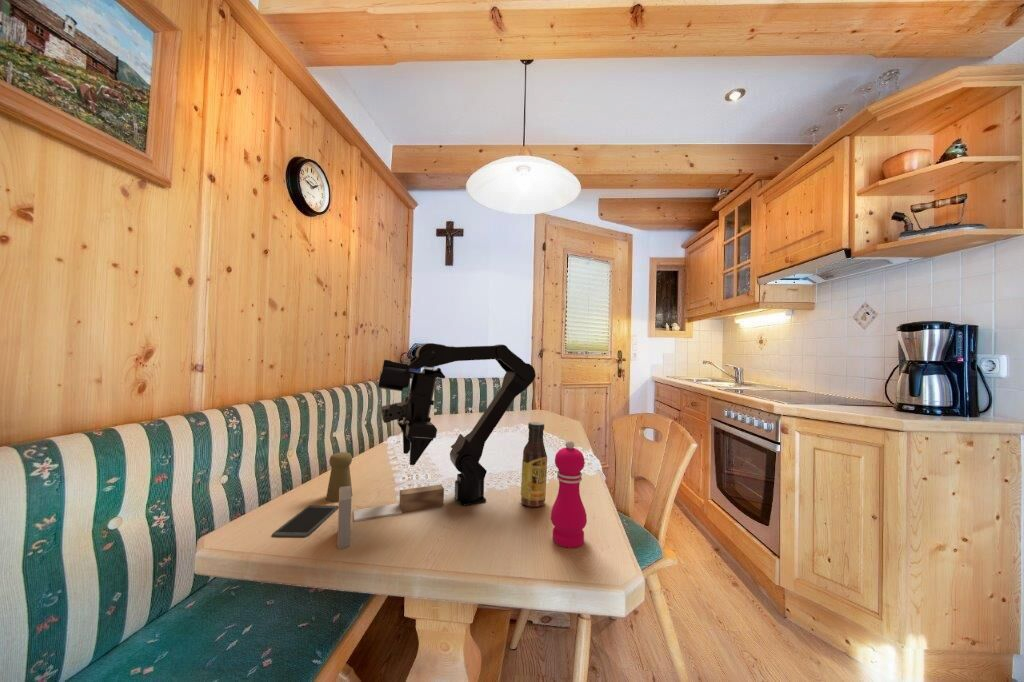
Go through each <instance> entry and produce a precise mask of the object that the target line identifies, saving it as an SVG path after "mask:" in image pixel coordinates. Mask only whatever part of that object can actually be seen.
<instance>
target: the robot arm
mask: <svg viewBox="0 0 1024 682" xmlns="http://www.w3.org/2000/svg"><path fill="white" fill-rule="evenodd" d="M486 360H489V361H490V360H495V361H496V362H497V363H498V364H499V367H501V369H503V371H504V372H505V374H504V376H503V379H502V383H501V387H500V389H499V390H498V392H497V393H496V394H495V396H494V397H493V399H492V400H491V402H490V403H489V405H488V406H487V408H486V410H485V411H483V414H482V415H481V416H480V418H479V419H478V420H477V422H476V424H475V425H474V427H473V428H472V430H471V431H470V432H469V433H467V434H466V435H465V436H463V434H461V433H460V434H459V435H458V436H457V438H456V440H455V442H454V443H453V444H451V446H450V448H451V450H450V452H449V460H450V461H451V463H452V464H453V466H454V467H455V469H456V470H457V471H458V472H459V473H457V475H456V476H457V477H456V480H455V481H454V498H455V500H456V501H458V503H459V505H461V506H468V505H474V504H475V505H476V504H480V503H486V502H487V499H486V497H485V496H484V495H485V494H484V493H485V478H486V475H487V472H488V471H487V469H486V468H485V467H484V466H483V465H482V464H481V463H480V460H481V458H482V455H483V452H484V449H485V444H486V442H487V440H488V439H489V438H490V436H491V434H492V432H493V431H494V429H495V428H496V427H497V425H498V424H499V423H500V421H501V419H502V418H503V416H504V415H505V413H506V412H507V410H508V409H509V407H511V404H512V403H513V401H514V400H515V399H516V398H517V396H518V395H520V394H522V393H523V392H524V391H526V390H527V389H528V388H529V386H530V385H531V384H533V382H534V381H535V379H536V376H537V374H536V370H535V368H534V366H533V365H532V364H530V363H526V362H525V361H524V360H523V359H522V358H521V357H520V356H518V355H517V354H515V353H514V352H513V351H511V349H509V348H508V346H507V345H505V344H494V345H477V346H476V345H474V346H473V345H471V346H468V345H467V346H453V345H446V344H440V343H434V342H433V343H431V342H430V343H429V342H428V343H422V344H421V345H419V347H418V348H417V350H415V355H414V356H413V357H412V358H411V359H409V360H408V361H407V362H406V363H403V362H399V361H398V362H397V361H392V360H390V359H384V360H383V361H382V362H383V363H382V367H381V371H380V372H379V376H378V377H379V378H378V382H377V389H384V390H389V391H397V392H403V391H404V389H406V388H409V387H410V388H409V392H408V395H406V396H405V398H404V401H401V402H395V403H391V404H385V405H382V406H380V413H381V419H382V422H383V423H384V424H387V423H390V422H392V421H393V422H394V421H397V425H398V426H399V427H400V429H401V430H402V449H403V450H402V452H403V454H405V455H407V454H409V466H416V463H417V462H418V460H419V459H420V458H421V456H422V455H423V453H424V452H425V450H426V449H427V448H428V446H429V445H430V444H431V443H432V442H433V441H434V439H437V434H438V429H437V427H436V425H434V424H433V422H431V420H432V418H431V417H430V413H431V409H432V406H434V404H435V400H433V398H434V393H435V387H436V382H437V379H445V378H446V375H444V373H443V372H442V369H441V368H440V367H439V366H442V365H443V366H444V365H447V364H451V363H453V362H454V363H455V362H464V361H465V362H467V361H486ZM424 367H428V368H424ZM434 367H435V368H436V367H437V368H436V369H435V370H434V369H429V368H434ZM421 368H423V369H422V370H421V371H415V370H419V369H421ZM410 369H413V370H414V371H413V370H410ZM411 375H412V377H411ZM410 380H411V382H410ZM409 385H410V386H409Z"/></svg>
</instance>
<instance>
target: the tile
mask: <svg viewBox="0 0 1024 682" xmlns="http://www.w3.org/2000/svg"><path fill="white" fill-rule="evenodd" d="M338 506H339V508H338V510H337V511H338V512H337V513H338V515H337V517H338V518H337V545H336V548H337V549H344V548H350V546H351V521H352V497H351V486H345V487H340V489H339V502H338Z"/></svg>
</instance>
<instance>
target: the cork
mask: <svg viewBox="0 0 1024 682" xmlns="http://www.w3.org/2000/svg"><path fill="white" fill-rule="evenodd" d="M352 461H353V457H352V454H351V453H350V452H347V451H340V452H336V453H332V455H330V458H329V461H328V463H329V466H330V467H331V468H330V476H329V480H328V486H327V490H326V491H327V492H326V498H325V500H326V501H327V502H330V503H337V502H338V503H339V489H340V487H345V486H351V498H352V497H353V487H352V478H351V468H350V467H351V464H352Z"/></svg>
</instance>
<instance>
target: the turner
mask: <svg viewBox="0 0 1024 682" xmlns="http://www.w3.org/2000/svg"><path fill="white" fill-rule="evenodd" d="M444 500H445V488H444V487H443V485H442V484H441V483H440V484H434V485H427V486H419V487H412V488H406V489H399V503H391V504H386V505H385V504H384V505H379V506H373V507H372V506H371V507H367V508H360V509H354V510H353V523H357V522H362V521H367V520H368V521H369V520H375V519H380V518H385V517H386V518H387V517H392V516H399V515H403V514H402V513H403V512H409V511H415V510H422V509H428V508H434V507H440V506H444Z"/></svg>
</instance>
